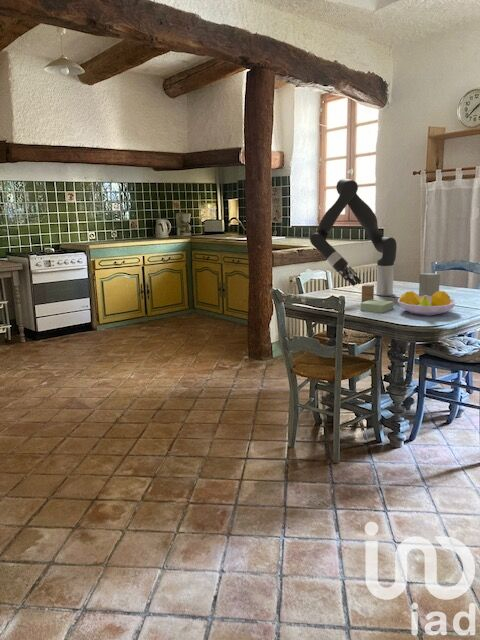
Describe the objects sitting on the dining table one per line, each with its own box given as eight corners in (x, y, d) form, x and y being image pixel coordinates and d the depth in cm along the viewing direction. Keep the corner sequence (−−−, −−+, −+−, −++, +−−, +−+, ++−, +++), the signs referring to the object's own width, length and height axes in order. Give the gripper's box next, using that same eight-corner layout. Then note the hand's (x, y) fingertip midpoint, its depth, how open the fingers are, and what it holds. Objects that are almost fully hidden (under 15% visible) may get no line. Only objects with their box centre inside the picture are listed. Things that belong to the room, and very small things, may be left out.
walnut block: (364, 302, 277) (364, 284, 275) (373, 303, 275) (373, 284, 272) (361, 304, 273) (361, 285, 271) (370, 305, 270) (371, 286, 268)
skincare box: (425, 305, 266) (427, 274, 263) (417, 302, 273) (418, 273, 270) (439, 303, 269) (441, 273, 265) (431, 301, 275) (432, 272, 272)
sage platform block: (371, 306, 268) (371, 299, 268) (392, 309, 261) (393, 301, 260) (360, 310, 259) (360, 303, 259) (382, 313, 252) (383, 305, 251)
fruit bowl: (408, 305, 268) (409, 283, 265) (462, 310, 251) (464, 288, 248) (386, 315, 247) (386, 291, 244) (443, 322, 230) (445, 297, 227)
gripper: (337, 258, 269) (358, 281, 266) (346, 255, 281) (366, 277, 278) (327, 268, 273) (348, 290, 270) (337, 264, 285) (356, 286, 282)
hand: (357, 283), depth 274 cm, fingers open, 8 cm apart
